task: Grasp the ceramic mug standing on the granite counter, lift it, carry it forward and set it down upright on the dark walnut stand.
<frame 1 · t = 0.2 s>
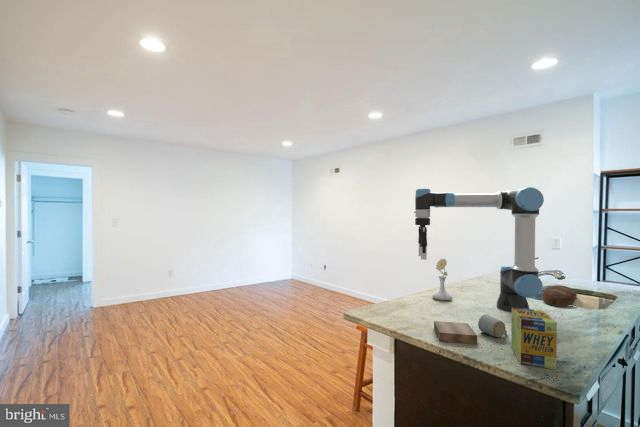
hand: (422, 257, 167), 28 cm above the worktop, fingers open, 13 cm apart
protein box: (532, 358, 112), on the worktop
walnut stand: (454, 336, 132), on the worktop
bread: (559, 301, 189), on the worktop
flower in vase: (442, 299, 188), on the worktop
ceramic mug: (493, 334, 134), on the worktop
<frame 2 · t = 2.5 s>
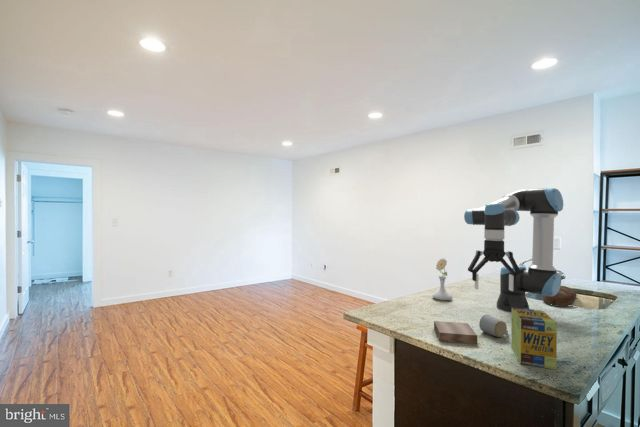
hand: (493, 289, 134), 19 cm above the worktop, fingers open, 13 cm apart
nothing on the worktop moved.
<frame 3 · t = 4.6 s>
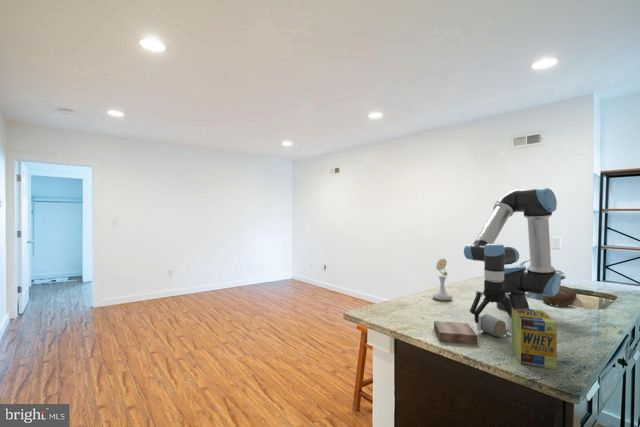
hand: (493, 331, 134), 1 cm above the worktop, fingers closed on ceramic mug, 11 cm apart
ceramic mug: (494, 334, 135), on the worktop, touching gripper
everything else where it was.
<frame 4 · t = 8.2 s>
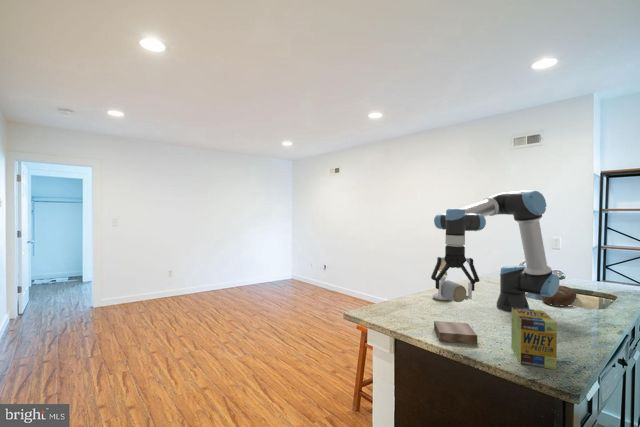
hand: (454, 297, 132), 16 cm above the worktop, fingers closed on ceramic mug, 11 cm apart
ceramic mug: (455, 300, 132), point 15 cm above the worktop, touching gripper
everything else where it was.
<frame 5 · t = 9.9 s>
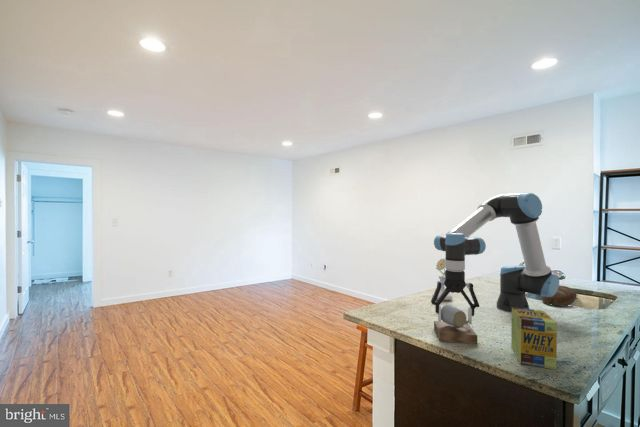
hand: (454, 322, 132), 6 cm above the worktop, fingers closed on ceramic mug, 11 cm apart
ceramic mug: (455, 325, 132), point 4 cm above the worktop, touching gripper
everything else where it was.
when the fingers open (6 cm above the worktop, at t = 11.6 s): ceramic mug stays where it is, resting on walnut stand.
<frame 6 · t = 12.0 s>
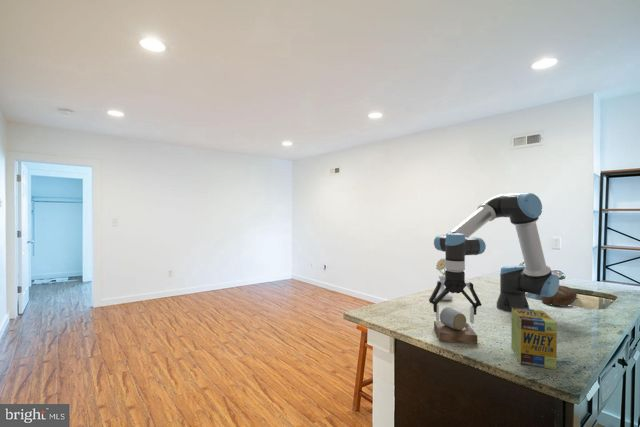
hand: (454, 321, 132), 6 cm above the worktop, fingers open, 13 cm apart
ceramic mug: (455, 327, 132), point 3 cm above the worktop, touching walnut stand
everything else where it was.
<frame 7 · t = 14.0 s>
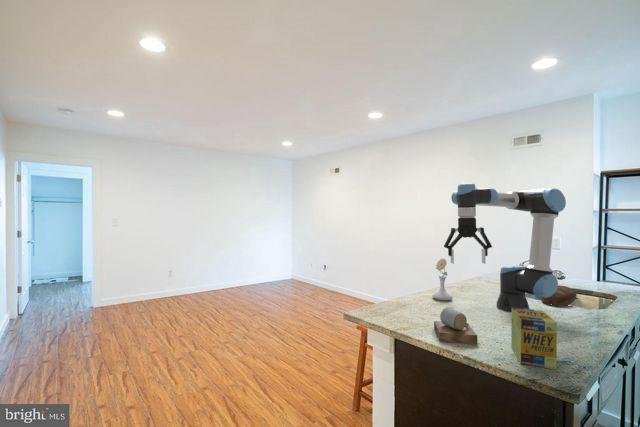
hand: (467, 263, 145), 28 cm above the worktop, fingers open, 13 cm apart
nothing on the worktop moved.
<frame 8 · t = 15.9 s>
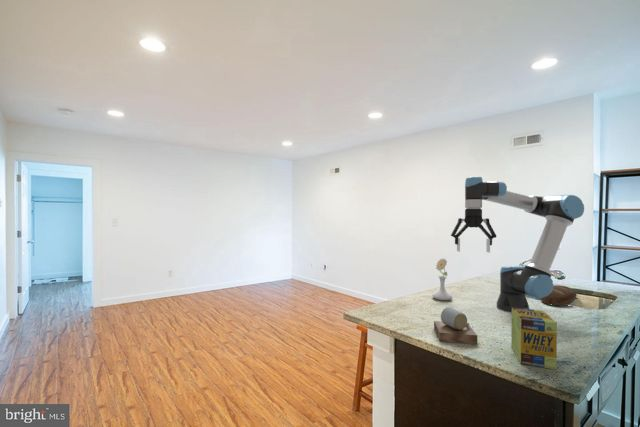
hand: (473, 251, 154), 33 cm above the worktop, fingers open, 13 cm apart
nothing on the worktop moved.
at the end: ceramic mug inside the target area on the walnut stand (1.5 cm from its centre), point 3.3 cm above the walnut stand's base; ceramic mug tilted 0°; the gripper is holding nothing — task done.
